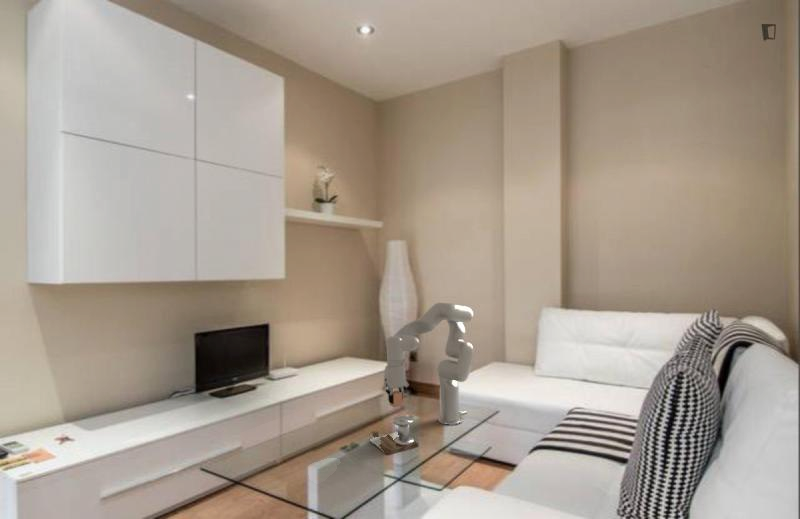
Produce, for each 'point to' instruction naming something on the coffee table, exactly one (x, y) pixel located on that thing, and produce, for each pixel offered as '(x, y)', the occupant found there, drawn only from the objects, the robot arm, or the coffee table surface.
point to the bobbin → (403, 431)
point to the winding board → (398, 448)
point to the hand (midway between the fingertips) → (395, 401)
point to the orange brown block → (396, 399)
